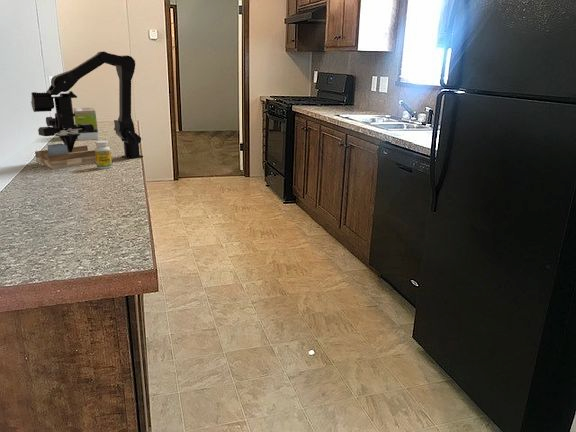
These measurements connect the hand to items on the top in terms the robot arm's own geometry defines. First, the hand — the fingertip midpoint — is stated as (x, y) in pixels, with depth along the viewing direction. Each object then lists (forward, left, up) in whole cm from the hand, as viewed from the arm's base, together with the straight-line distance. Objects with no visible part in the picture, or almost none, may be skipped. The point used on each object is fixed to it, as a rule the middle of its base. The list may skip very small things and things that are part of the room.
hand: (70, 152), depth 179 cm
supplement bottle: (-16, -5, -5) cm, 17 cm away
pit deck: (+3, -1, -4) cm, 5 cm away
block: (0, +4, -2) cm, 5 cm away
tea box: (+58, -35, -5) cm, 68 cm away
